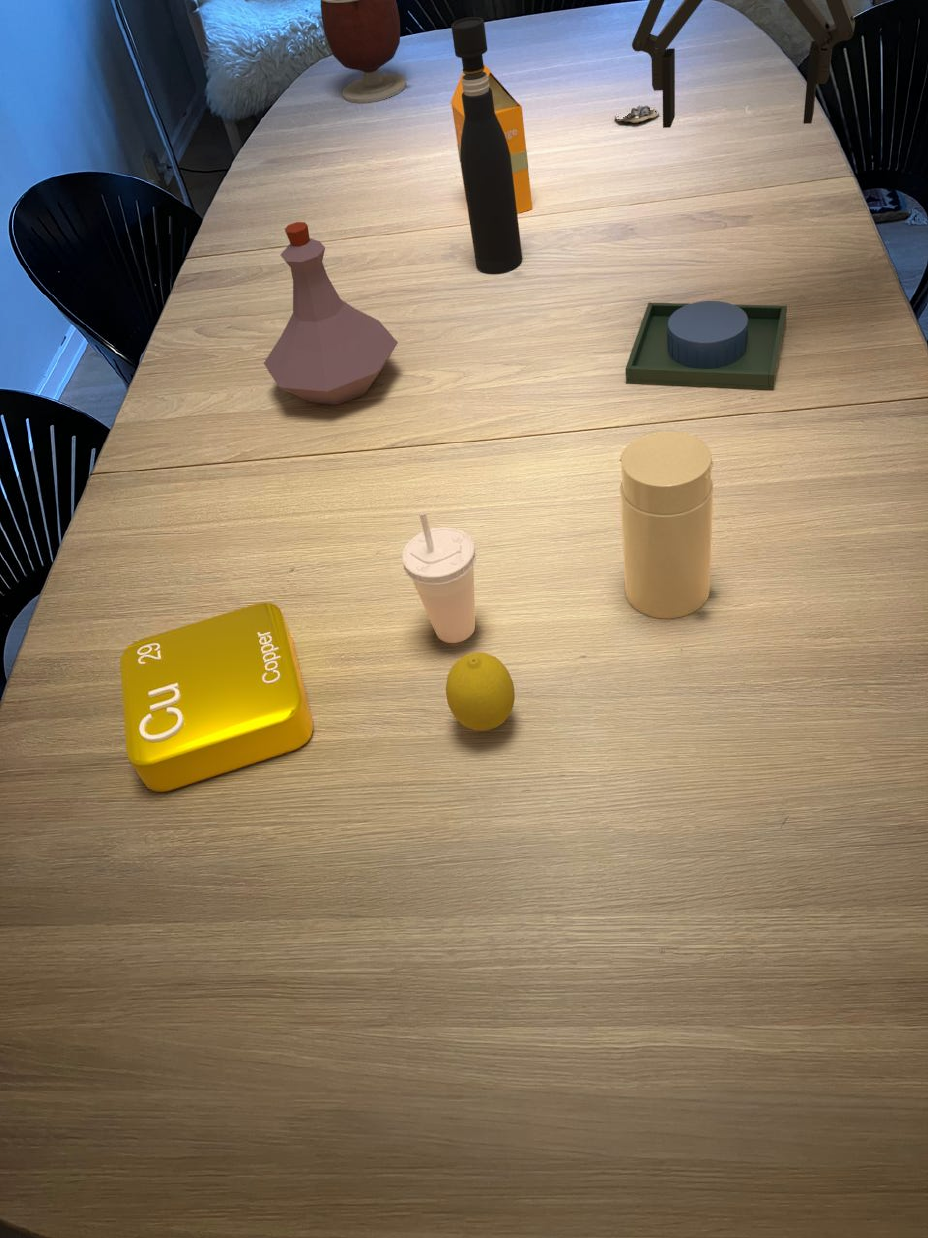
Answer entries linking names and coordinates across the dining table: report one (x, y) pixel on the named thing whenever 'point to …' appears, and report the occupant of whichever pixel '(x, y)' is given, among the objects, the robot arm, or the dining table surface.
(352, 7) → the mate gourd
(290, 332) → the flask
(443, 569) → the smoothie
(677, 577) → the jar
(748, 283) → the dining table surface
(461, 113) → the orange juice
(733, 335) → the lid
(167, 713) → the element tile
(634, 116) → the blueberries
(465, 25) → the black water bottle
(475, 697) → the lemon
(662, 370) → the tray
